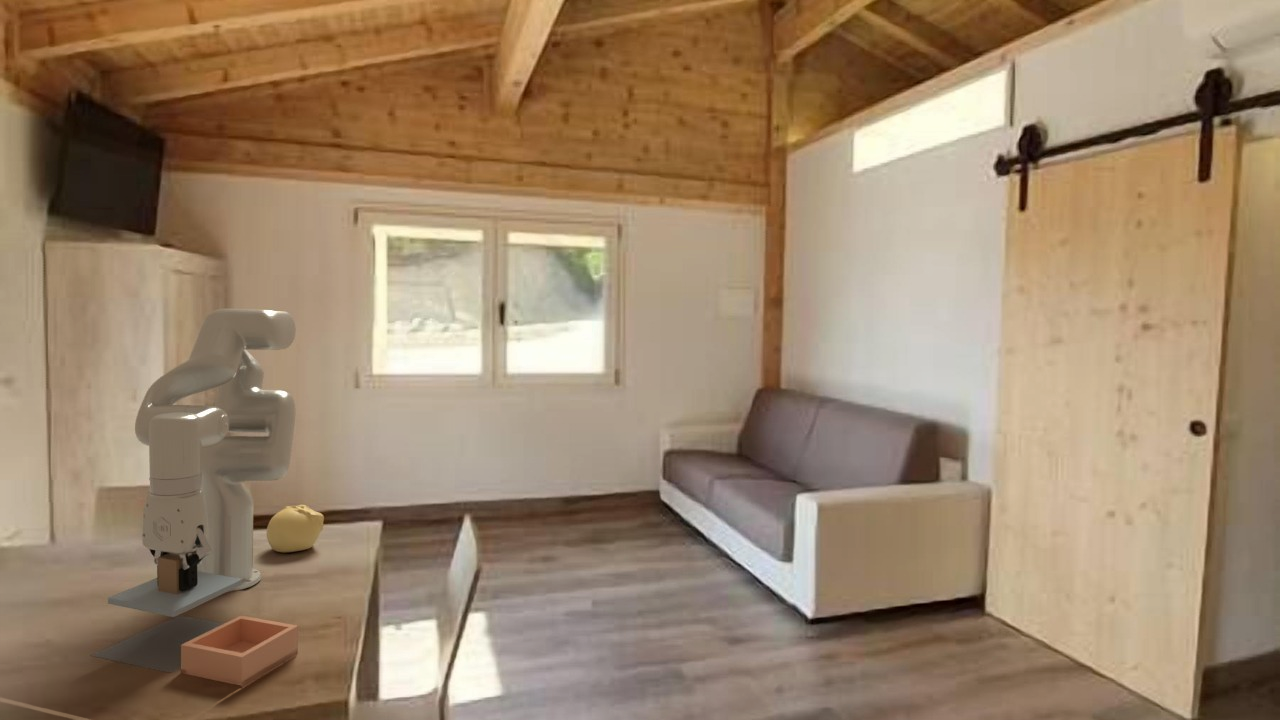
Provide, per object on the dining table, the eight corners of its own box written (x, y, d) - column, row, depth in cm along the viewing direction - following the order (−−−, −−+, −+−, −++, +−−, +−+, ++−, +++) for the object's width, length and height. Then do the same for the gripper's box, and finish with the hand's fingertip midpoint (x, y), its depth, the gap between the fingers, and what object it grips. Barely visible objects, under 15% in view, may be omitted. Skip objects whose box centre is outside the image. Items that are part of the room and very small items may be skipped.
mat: (90, 657, 119) (90, 655, 119) (180, 617, 136) (180, 615, 136) (170, 675, 115) (170, 672, 115) (253, 631, 131) (253, 629, 131)
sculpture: (330, 546, 179) (331, 503, 178) (289, 560, 168) (290, 515, 167) (298, 538, 184) (298, 497, 183) (256, 551, 173) (256, 508, 172)
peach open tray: (181, 675, 115) (181, 644, 115) (240, 642, 126) (240, 615, 126) (242, 688, 112) (242, 657, 111) (297, 653, 123) (297, 625, 123)
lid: (108, 603, 121) (107, 563, 120) (181, 573, 134) (180, 536, 133) (173, 617, 117) (173, 576, 116) (242, 584, 130) (241, 547, 130)
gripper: (117, 484, 122) (120, 587, 124) (196, 496, 118) (197, 602, 120) (157, 473, 129) (159, 571, 131) (233, 484, 125) (233, 585, 127)
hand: (177, 585), depth 125 cm, fingers closed on lid, 4 cm apart
